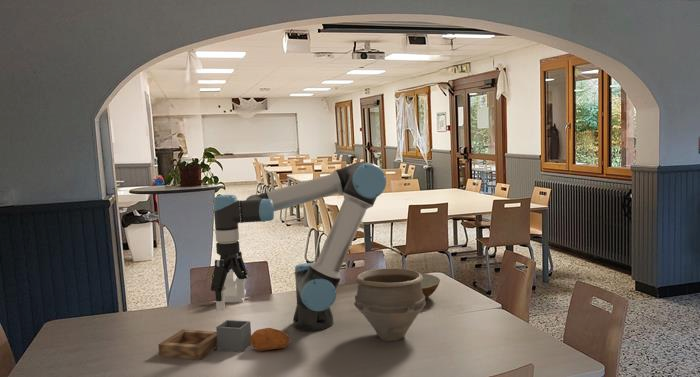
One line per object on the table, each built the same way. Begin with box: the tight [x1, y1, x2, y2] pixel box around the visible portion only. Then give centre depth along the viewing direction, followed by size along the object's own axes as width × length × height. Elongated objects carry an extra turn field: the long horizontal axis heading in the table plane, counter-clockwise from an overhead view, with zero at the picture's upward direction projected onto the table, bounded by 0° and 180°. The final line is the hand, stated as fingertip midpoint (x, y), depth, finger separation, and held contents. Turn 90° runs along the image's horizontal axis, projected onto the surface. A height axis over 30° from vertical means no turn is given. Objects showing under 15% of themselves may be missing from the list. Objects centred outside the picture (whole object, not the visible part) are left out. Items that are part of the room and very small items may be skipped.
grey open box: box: [215, 319, 252, 353], centre depth 175 cm, size 9×7×8 cm
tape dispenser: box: [223, 271, 247, 303], centre depth 228 cm, size 8×14×14 cm, turn 84°
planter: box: [353, 267, 427, 342], centre depth 178 cm, size 25×24×22 cm
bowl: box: [419, 272, 441, 300], centre depth 219 cm, size 25×25×8 cm
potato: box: [250, 327, 290, 352], centre depth 172 cm, size 7×13×7 cm, turn 86°
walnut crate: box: [157, 329, 218, 360], centre depth 175 cm, size 15×14×4 cm
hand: (231, 303), depth 174 cm, fingers open, 13 cm apart
